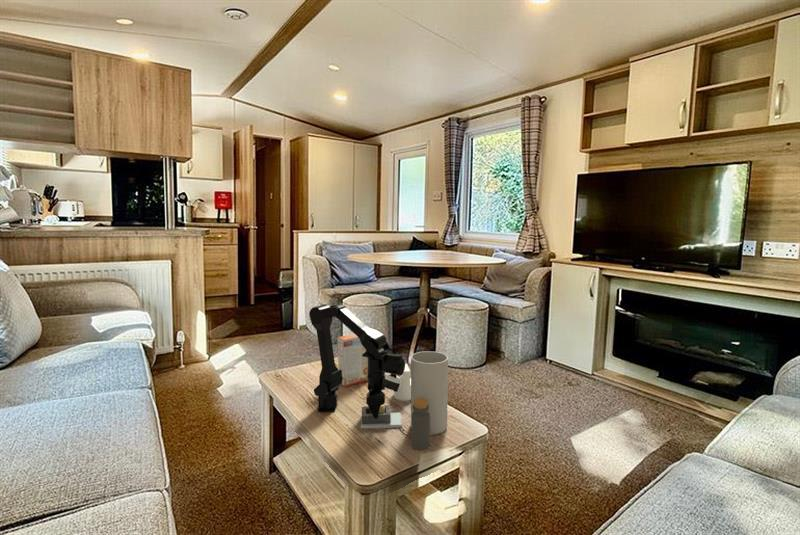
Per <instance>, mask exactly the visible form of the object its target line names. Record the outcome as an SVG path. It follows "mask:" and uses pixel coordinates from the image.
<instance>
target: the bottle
mask: <svg viewBox="0 0 800 535" xmlns="http://www.w3.org/2000/svg"><path fill="white" fill-rule="evenodd" d="M413 402H414V405H413V410H414V412H412V418H411V417H410V426H411V428H410V431H411V442H410V443H411V447H412V449H413V450H416V451H425V450H426V451H427V450H428V449H430V445H431V444H430V443H431V435H430V414H429V412H427V411H428V410H429V406H428V400H427V399H425V398H416V399H414V400H413Z"/></svg>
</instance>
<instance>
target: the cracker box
mask: <svg viewBox="0 0 800 535" xmlns="http://www.w3.org/2000/svg"><path fill="white" fill-rule="evenodd" d="M336 340H337V362H338V363H337V364H338V365H337V366H338V367H337V368H338V370H339V369H341V370H342V377H343V380H342V384H341V386H343V387H346V388H347V387H348V386H349V387H350V386H353V385H356V384H360V383H363V382H368V378H367V375H368V358H367V357H363V356H362V354H364V353H365V352H366V349H365V348H364V347H363V346H362V344H361V342H360V339H359V338H358V336H356V335H355V334H354V333H353V334H347V335H342V336H337V339H336Z"/></svg>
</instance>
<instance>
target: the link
mask: <svg viewBox="0 0 800 535" xmlns="http://www.w3.org/2000/svg"><path fill="white" fill-rule="evenodd" d="M384 405H385V413H379V414H378V418H377V419H374V417H373V415H372V412H371V410H370V408H369V406H368V405H366V406H361V419H362V424H377V423H391V415H390V413H391V407H390V404H384Z"/></svg>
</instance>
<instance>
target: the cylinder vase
mask: <svg viewBox="0 0 800 535" xmlns="http://www.w3.org/2000/svg"><path fill="white" fill-rule="evenodd" d="M448 375H449V356H448V355H447V354H445V353H443V352H439V351H431V350H430V351H429V350H427V351H426V350H425V351H418V352H415V353H413V354H412V355H411V356H410V378H411V400H410V419H411V418H412V412H414V410H413V405H414V402H413V400H414V399H416V398H425V399H427V400H428V406H429V410H428V411H427V412H429V414H430V436H434V435H439V434H442V433H444V432H445V431H446V430H447V428H448V395H449V394H448V392H449V390H448V388H449V387H448V386H449V384H448V381H449V379H448V378H449V376H448Z"/></svg>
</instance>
